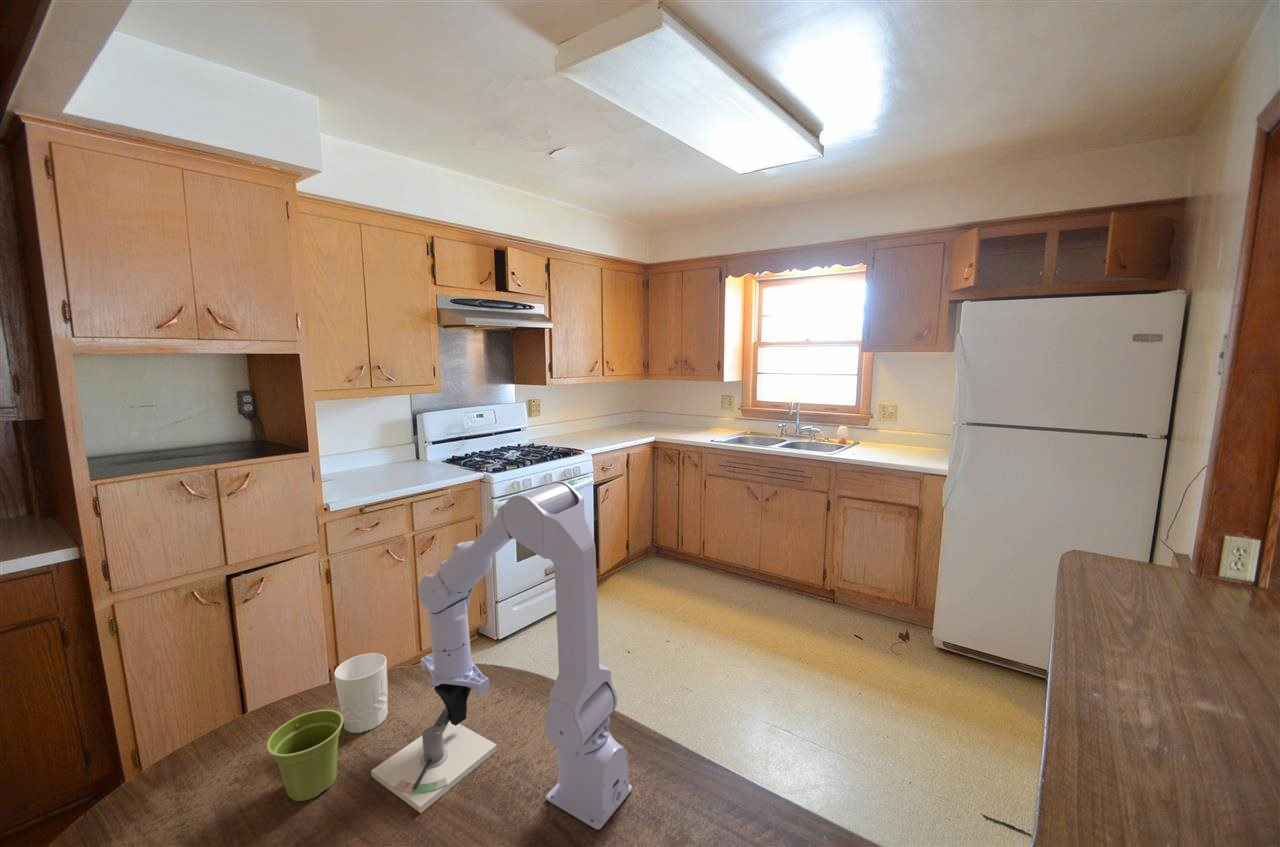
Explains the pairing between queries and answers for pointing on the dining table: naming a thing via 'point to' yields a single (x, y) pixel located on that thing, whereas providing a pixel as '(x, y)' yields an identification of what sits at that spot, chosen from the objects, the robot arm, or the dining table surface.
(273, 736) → the plant pot
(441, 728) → the grey dial pointer
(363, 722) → the white cup
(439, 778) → the board
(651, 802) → the dining table surface
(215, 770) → the dining table surface
